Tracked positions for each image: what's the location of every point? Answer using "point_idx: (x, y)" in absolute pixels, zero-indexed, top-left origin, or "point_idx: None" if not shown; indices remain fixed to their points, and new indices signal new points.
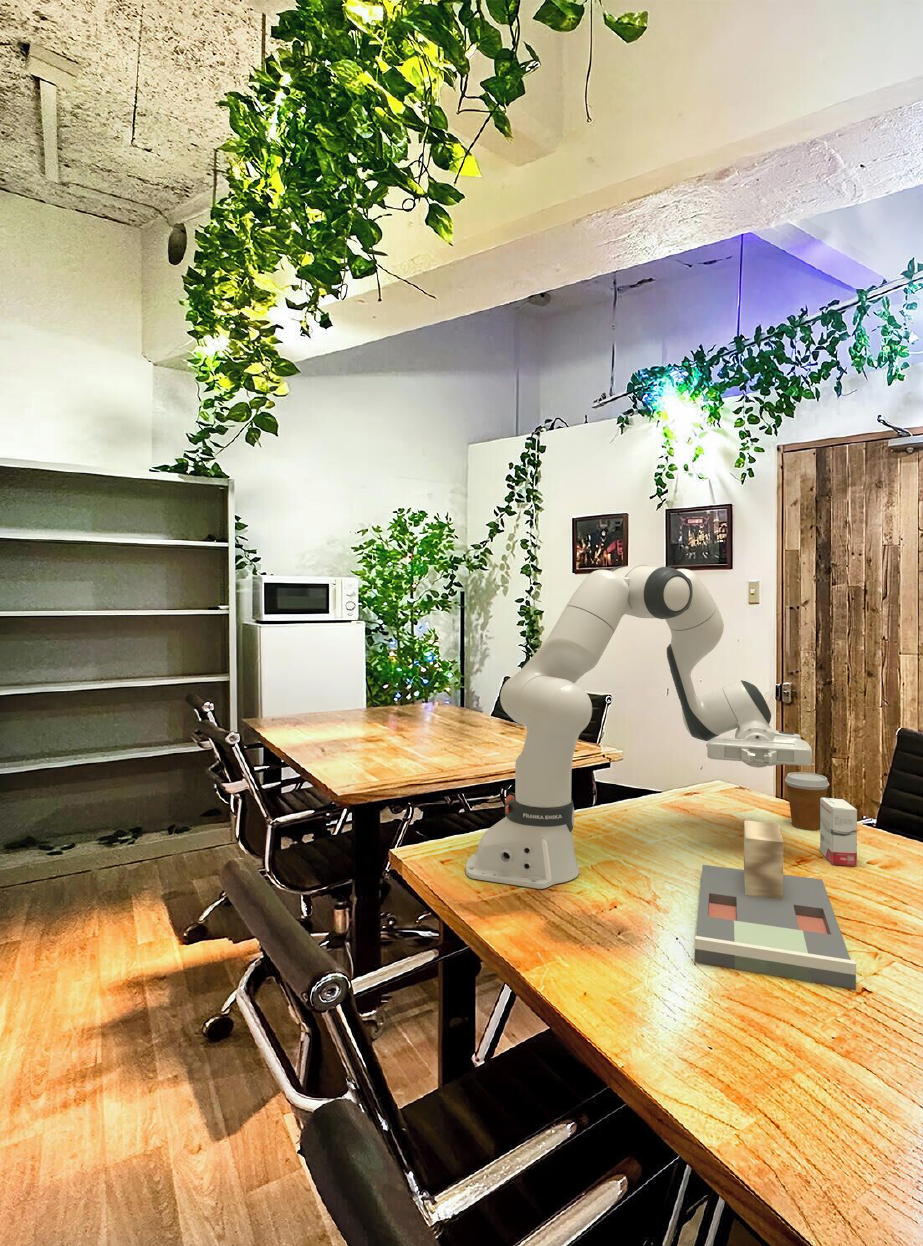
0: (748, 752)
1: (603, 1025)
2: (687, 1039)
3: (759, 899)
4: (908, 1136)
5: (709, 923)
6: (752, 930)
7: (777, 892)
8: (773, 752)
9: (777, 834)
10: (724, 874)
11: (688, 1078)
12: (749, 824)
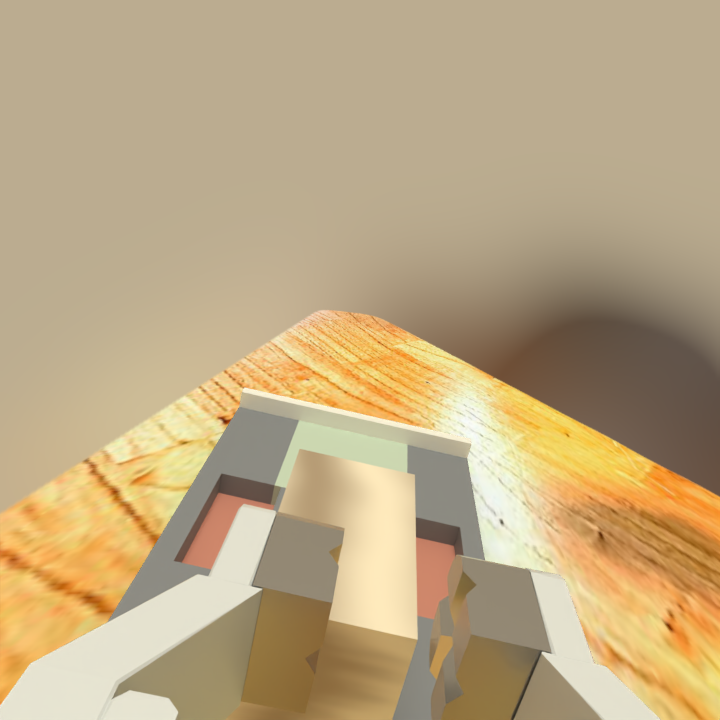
0: (568, 629)
1: (527, 405)
2: (448, 389)
3: None
4: (290, 329)
5: (453, 507)
6: None
7: None
8: (135, 621)
9: (298, 496)
10: None
11: (441, 367)
12: (394, 585)
